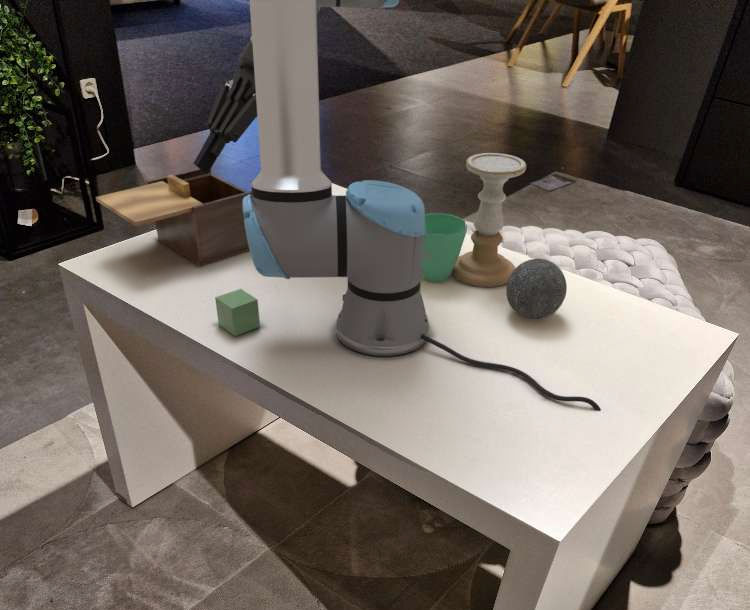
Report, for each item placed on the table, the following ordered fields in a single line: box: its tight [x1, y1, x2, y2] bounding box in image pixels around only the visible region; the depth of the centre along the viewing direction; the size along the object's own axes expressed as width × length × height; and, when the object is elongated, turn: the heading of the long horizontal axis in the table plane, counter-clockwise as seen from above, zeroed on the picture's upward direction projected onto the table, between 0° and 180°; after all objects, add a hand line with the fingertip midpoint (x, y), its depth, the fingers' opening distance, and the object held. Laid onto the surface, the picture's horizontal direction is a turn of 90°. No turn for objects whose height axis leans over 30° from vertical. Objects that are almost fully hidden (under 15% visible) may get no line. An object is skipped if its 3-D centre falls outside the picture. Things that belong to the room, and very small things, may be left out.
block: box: [214, 288, 261, 337], centre depth 122 cm, size 5×5×5 cm
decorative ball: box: [505, 258, 568, 321], centre depth 125 cm, size 10×10×10 cm
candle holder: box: [451, 152, 527, 288], centre depth 134 cm, size 12×12×20 cm
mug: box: [421, 212, 468, 283], centre depth 137 cm, size 15×10×10 cm
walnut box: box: [145, 167, 252, 267], centre depth 144 cm, size 18×14×11 cm
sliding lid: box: [95, 174, 203, 227], centre depth 135 cm, size 15×14×3 cm
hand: (200, 168), depth 139 cm, fingers closed
